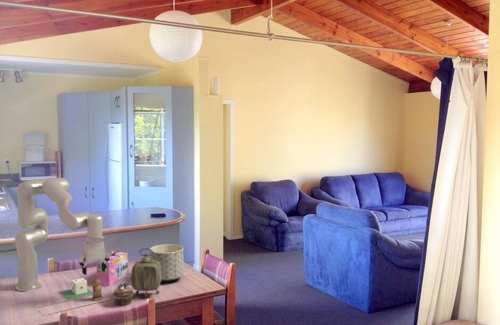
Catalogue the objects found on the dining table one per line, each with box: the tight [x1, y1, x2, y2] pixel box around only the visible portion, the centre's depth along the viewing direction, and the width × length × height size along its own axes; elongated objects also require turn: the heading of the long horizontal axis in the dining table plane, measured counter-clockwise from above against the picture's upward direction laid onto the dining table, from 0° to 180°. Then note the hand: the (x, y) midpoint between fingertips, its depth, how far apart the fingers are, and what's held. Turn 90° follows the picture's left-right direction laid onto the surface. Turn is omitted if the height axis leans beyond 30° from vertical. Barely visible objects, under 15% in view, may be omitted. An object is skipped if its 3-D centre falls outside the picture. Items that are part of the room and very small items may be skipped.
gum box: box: [95, 251, 129, 287], centre depth 270 cm, size 24×8×14 cm, turn 167°
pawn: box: [91, 278, 104, 302], centre depth 239 cm, size 5×5×11 cm
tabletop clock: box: [130, 247, 162, 298], centre depth 244 cm, size 14×9×25 cm, turn 92°
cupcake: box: [112, 282, 134, 307], centre depth 234 cm, size 10×10×10 cm
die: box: [71, 277, 88, 295], centre depth 249 cm, size 6×6×6 cm
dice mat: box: [58, 287, 93, 301], centre depth 248 cm, size 14×14×1 cm
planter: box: [149, 243, 185, 283], centre depth 270 cm, size 19×19×18 cm
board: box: [35, 294, 113, 316], centre depth 233 cm, size 13×33×1 cm, turn 130°
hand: (94, 272), depth 239 cm, fingers open, 9 cm apart
